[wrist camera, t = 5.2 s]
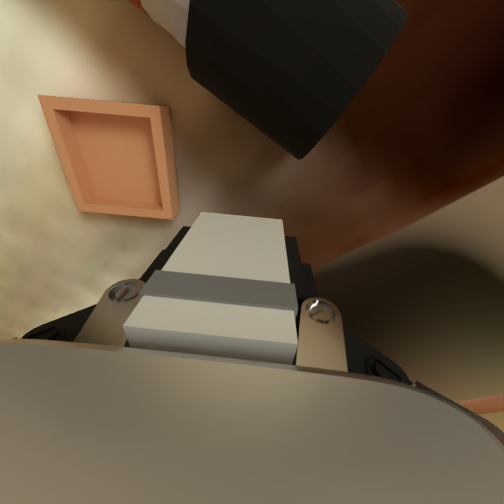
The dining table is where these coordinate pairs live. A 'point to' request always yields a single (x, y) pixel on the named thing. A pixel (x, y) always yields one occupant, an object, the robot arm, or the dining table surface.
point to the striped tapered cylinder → (282, 57)
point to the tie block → (221, 294)
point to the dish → (115, 155)
